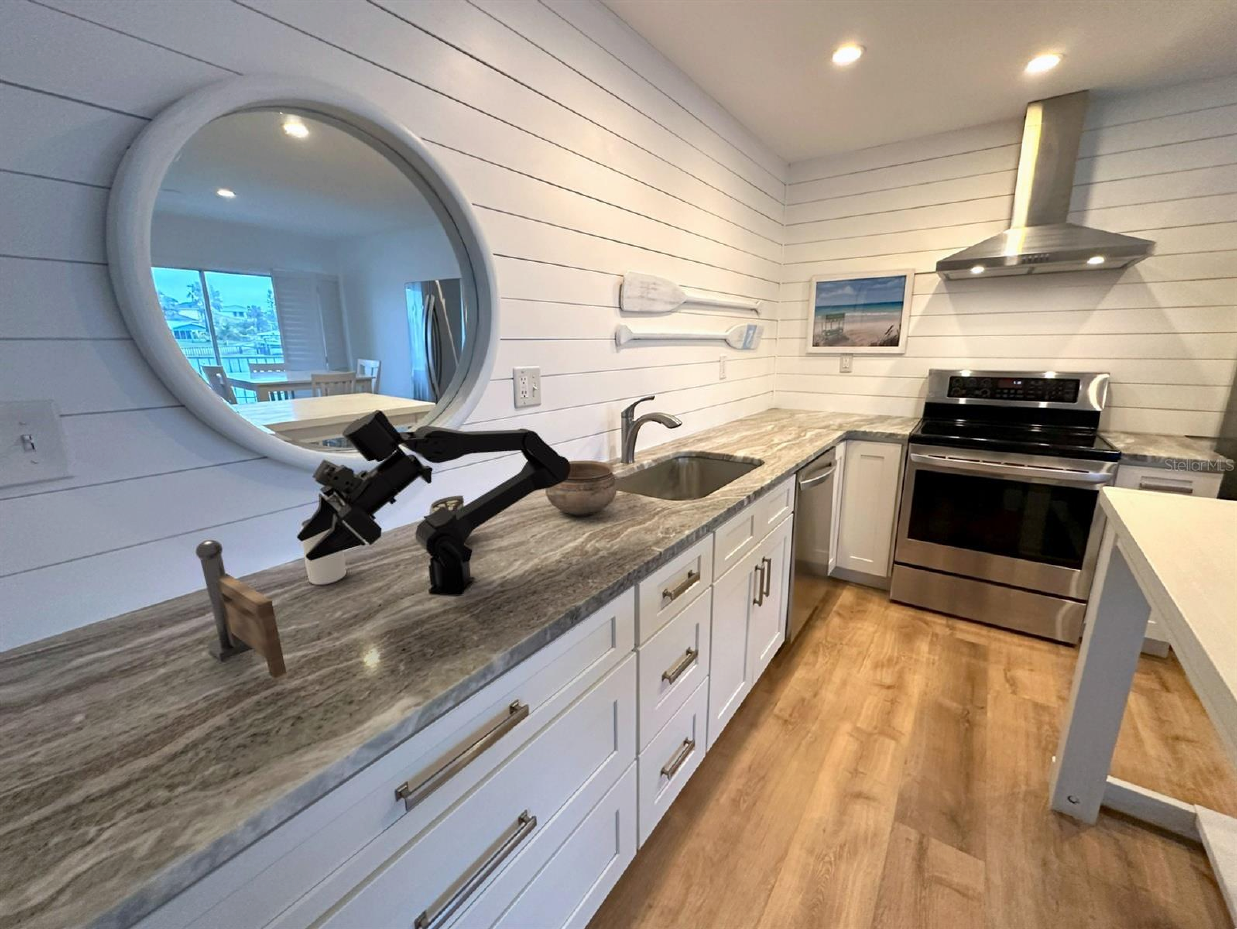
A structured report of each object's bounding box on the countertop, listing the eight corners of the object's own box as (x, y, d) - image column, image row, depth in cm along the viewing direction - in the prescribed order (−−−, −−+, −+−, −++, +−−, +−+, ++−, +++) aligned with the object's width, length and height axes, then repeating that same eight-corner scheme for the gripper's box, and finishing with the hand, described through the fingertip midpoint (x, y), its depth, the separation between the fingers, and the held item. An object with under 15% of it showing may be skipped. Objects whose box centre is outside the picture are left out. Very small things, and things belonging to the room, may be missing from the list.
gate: (230, 644, 73) (214, 577, 71) (241, 639, 75) (226, 573, 72) (275, 678, 66) (259, 605, 63) (286, 672, 67) (271, 600, 64)
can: (330, 587, 94) (320, 528, 91) (300, 584, 95) (290, 526, 92) (354, 571, 100) (345, 516, 97) (326, 569, 101) (317, 514, 98)
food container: (440, 534, 118) (436, 495, 116) (466, 534, 119) (463, 494, 116) (425, 557, 107) (420, 513, 104) (454, 556, 107) (450, 512, 104)
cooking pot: (583, 494, 148) (582, 454, 145) (636, 506, 138) (636, 463, 135) (523, 519, 128) (520, 474, 125) (580, 535, 118) (579, 486, 115)
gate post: (208, 651, 75) (182, 542, 71) (242, 636, 79) (219, 532, 74) (221, 661, 73) (194, 549, 68) (254, 645, 76) (231, 539, 72)
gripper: (339, 436, 85) (256, 497, 79) (366, 456, 71) (267, 533, 65) (383, 481, 91) (308, 542, 86) (416, 508, 77) (329, 583, 72)
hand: (303, 548), depth 77 cm, fingers open, 9 cm apart
